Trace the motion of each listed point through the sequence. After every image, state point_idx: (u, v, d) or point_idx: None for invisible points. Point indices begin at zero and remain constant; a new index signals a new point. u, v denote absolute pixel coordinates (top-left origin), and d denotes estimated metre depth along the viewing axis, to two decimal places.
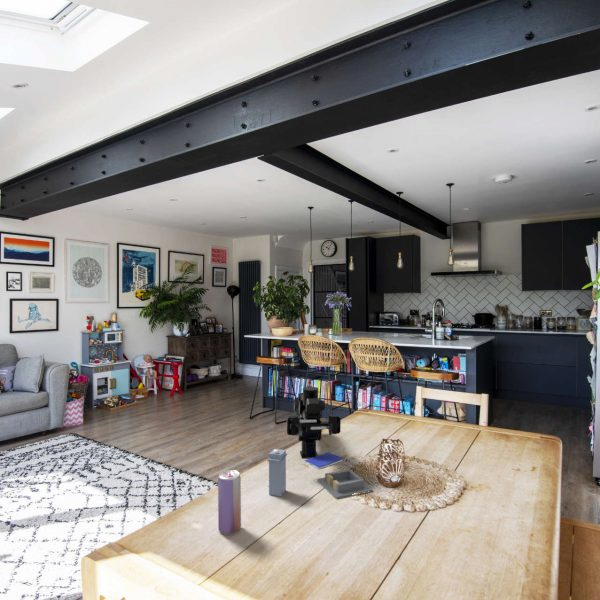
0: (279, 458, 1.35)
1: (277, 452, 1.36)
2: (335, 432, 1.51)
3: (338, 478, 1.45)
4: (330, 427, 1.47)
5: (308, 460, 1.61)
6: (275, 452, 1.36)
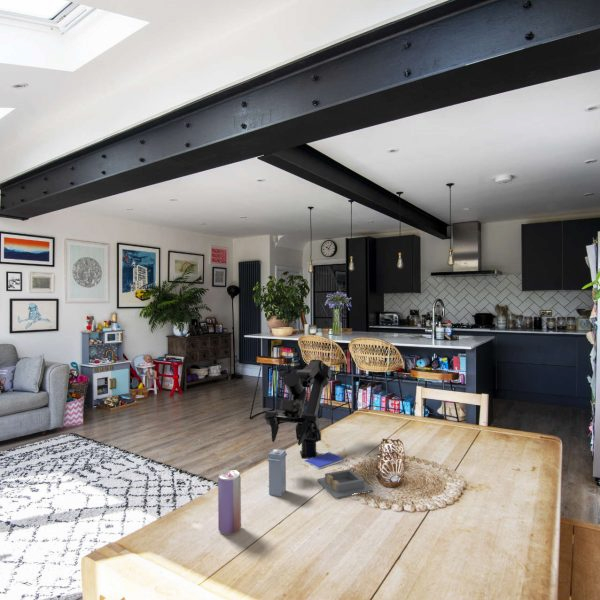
0: (279, 458, 1.35)
1: (277, 452, 1.36)
2: (312, 431, 1.48)
3: (338, 478, 1.45)
4: (301, 436, 1.44)
5: (308, 460, 1.61)
6: (275, 452, 1.36)
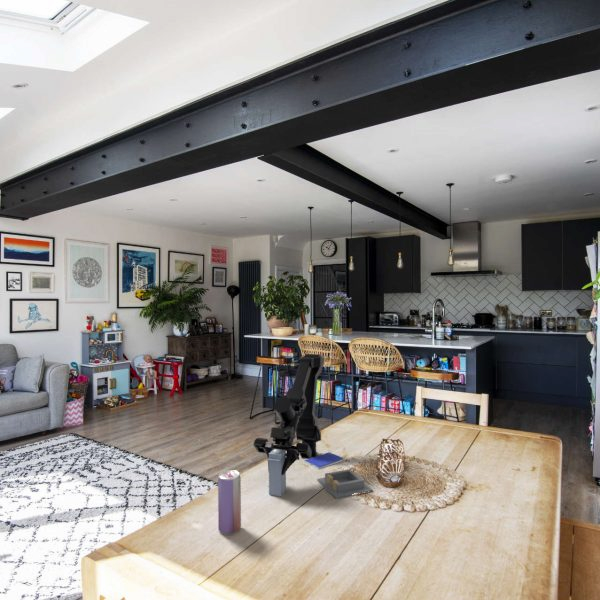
0: (279, 458, 1.35)
1: (277, 452, 1.36)
2: (297, 459, 1.41)
3: (338, 478, 1.45)
4: (284, 465, 1.37)
5: (308, 460, 1.61)
6: (275, 452, 1.36)
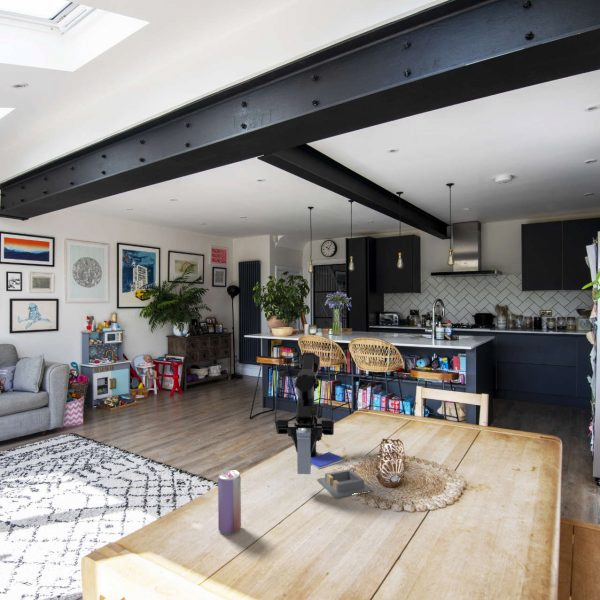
0: (308, 436, 1.35)
1: (305, 430, 1.36)
2: (320, 436, 1.42)
3: (338, 478, 1.45)
4: (312, 442, 1.37)
5: None
6: (303, 430, 1.36)
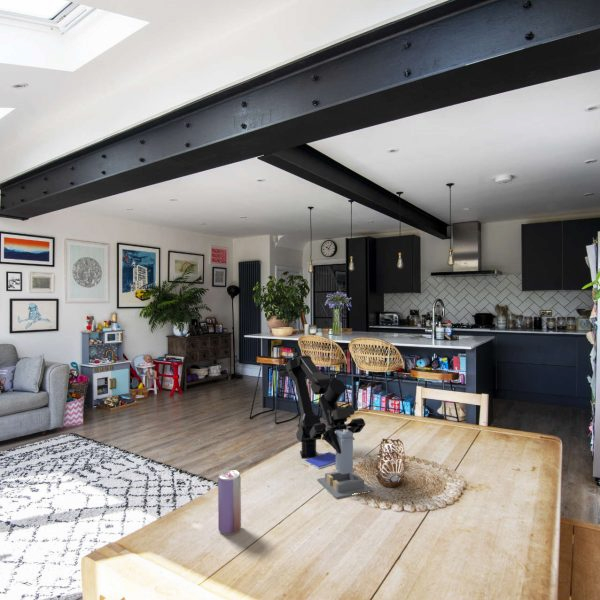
0: (351, 436, 1.41)
1: (347, 431, 1.41)
2: None
3: (338, 478, 1.45)
4: None
5: (308, 460, 1.62)
6: (346, 431, 1.40)
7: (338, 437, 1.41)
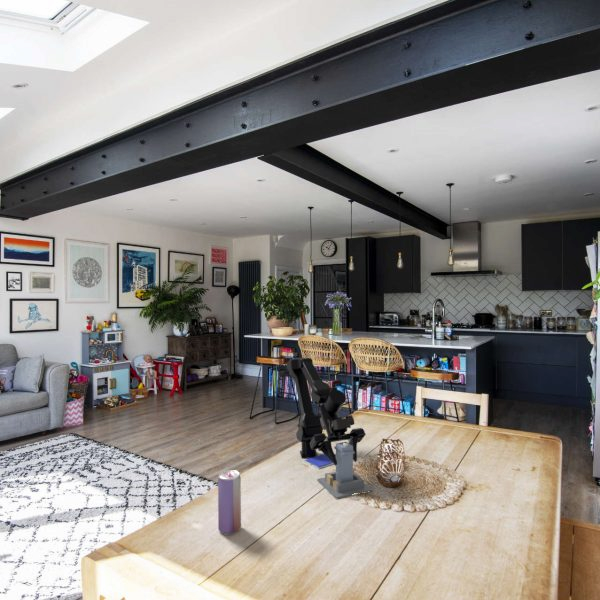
0: (351, 449, 1.41)
1: (348, 444, 1.41)
2: None
3: None
4: (355, 451, 1.43)
5: (308, 460, 1.62)
6: (346, 445, 1.40)
7: (338, 450, 1.41)
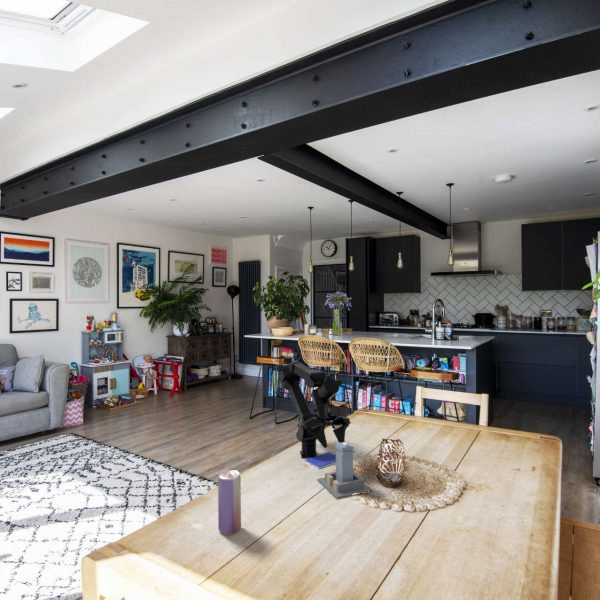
0: (351, 449, 1.41)
1: (348, 444, 1.41)
2: None
3: None
4: (343, 438, 1.55)
5: (308, 460, 1.62)
6: (346, 445, 1.40)
7: (338, 450, 1.41)
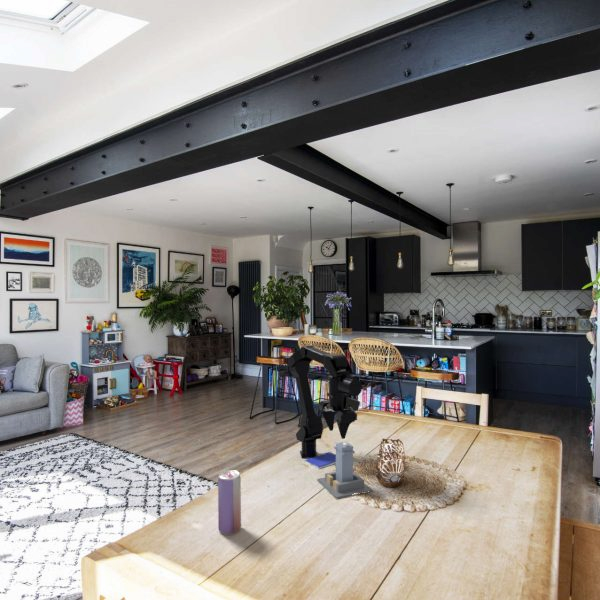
0: (351, 449, 1.41)
1: (348, 444, 1.41)
2: None
3: None
4: None
5: (308, 460, 1.62)
6: (346, 445, 1.40)
7: (338, 450, 1.41)
